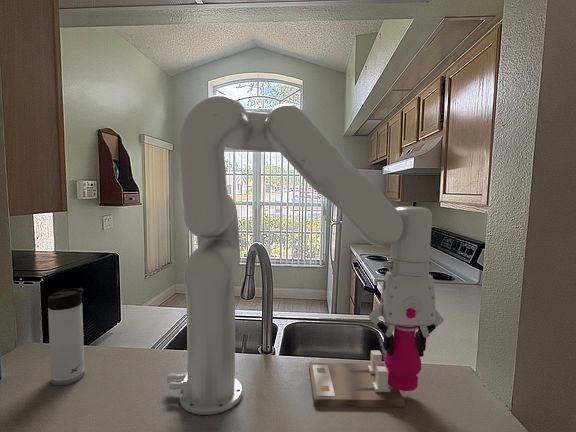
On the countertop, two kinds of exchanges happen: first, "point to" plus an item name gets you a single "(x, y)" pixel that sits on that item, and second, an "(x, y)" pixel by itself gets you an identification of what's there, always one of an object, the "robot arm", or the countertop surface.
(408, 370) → the pepper mill
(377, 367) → the tab
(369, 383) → the switch board
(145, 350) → the countertop surface
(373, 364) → the tab
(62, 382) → the travel mug
